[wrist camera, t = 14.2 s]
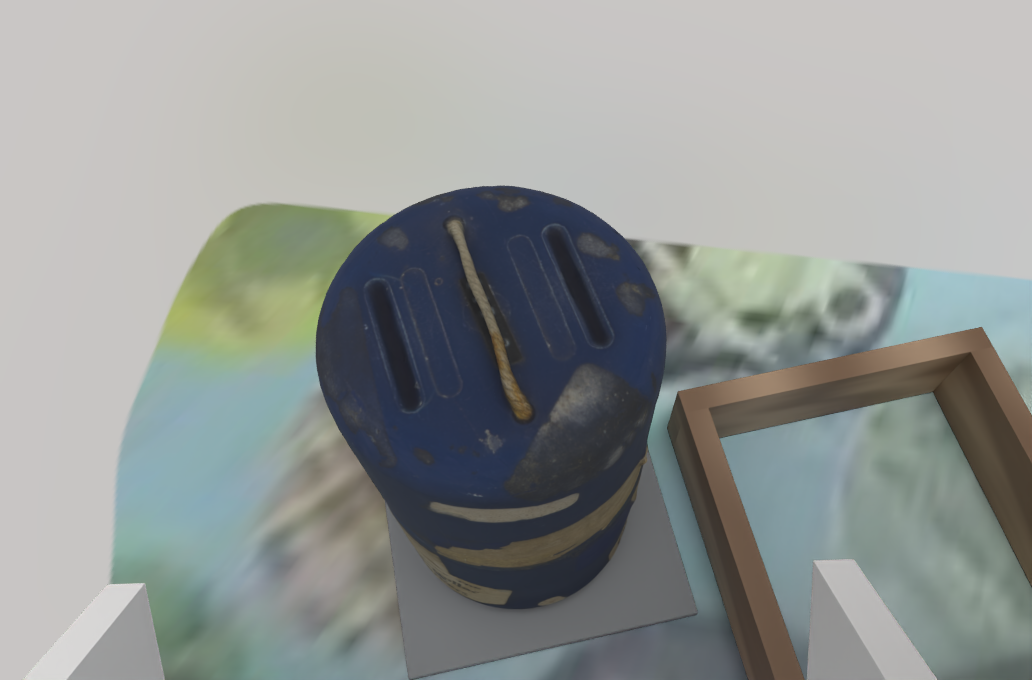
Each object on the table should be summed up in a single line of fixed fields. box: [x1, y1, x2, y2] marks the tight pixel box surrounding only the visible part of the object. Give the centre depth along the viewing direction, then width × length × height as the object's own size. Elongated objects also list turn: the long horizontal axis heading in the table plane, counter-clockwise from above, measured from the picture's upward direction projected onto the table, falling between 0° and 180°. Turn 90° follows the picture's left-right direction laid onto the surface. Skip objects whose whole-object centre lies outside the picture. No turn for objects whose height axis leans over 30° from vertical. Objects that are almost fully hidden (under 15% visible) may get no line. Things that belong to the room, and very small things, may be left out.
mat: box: [385, 451, 698, 680], centre depth 36 cm, size 12×12×1 cm
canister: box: [316, 186, 666, 609], centre depth 28 cm, size 10×10×18 cm
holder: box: [667, 327, 1032, 680], centre depth 33 cm, size 14×14×4 cm
